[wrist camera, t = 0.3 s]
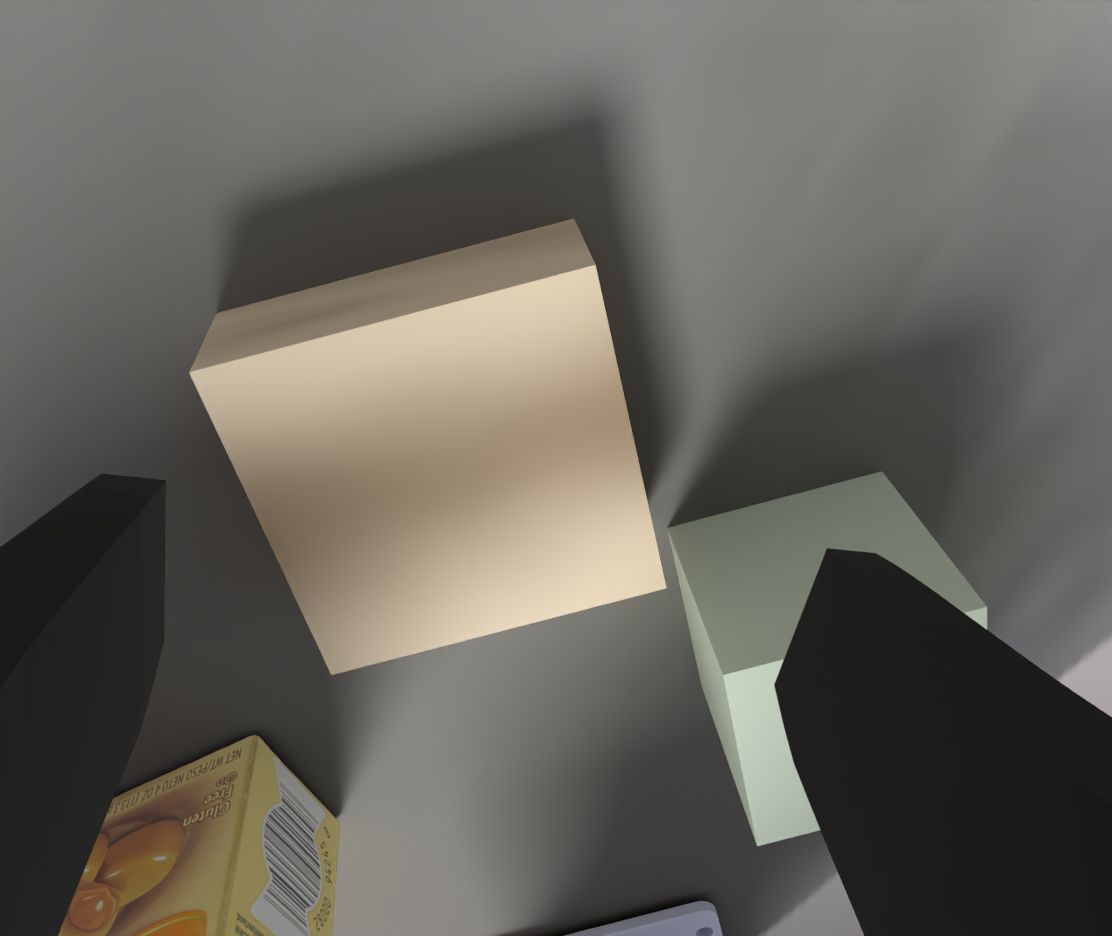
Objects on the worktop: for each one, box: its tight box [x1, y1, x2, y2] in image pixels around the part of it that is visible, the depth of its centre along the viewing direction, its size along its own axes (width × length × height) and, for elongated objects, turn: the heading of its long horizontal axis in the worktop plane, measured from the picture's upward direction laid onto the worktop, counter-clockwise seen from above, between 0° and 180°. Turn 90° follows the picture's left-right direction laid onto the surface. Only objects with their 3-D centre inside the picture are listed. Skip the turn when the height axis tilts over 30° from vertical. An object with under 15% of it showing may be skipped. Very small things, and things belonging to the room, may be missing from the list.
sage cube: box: [667, 471, 987, 846], centre depth 22 cm, size 5×5×5 cm
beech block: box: [189, 218, 666, 675], centre depth 20 cm, size 7×7×3 cm
